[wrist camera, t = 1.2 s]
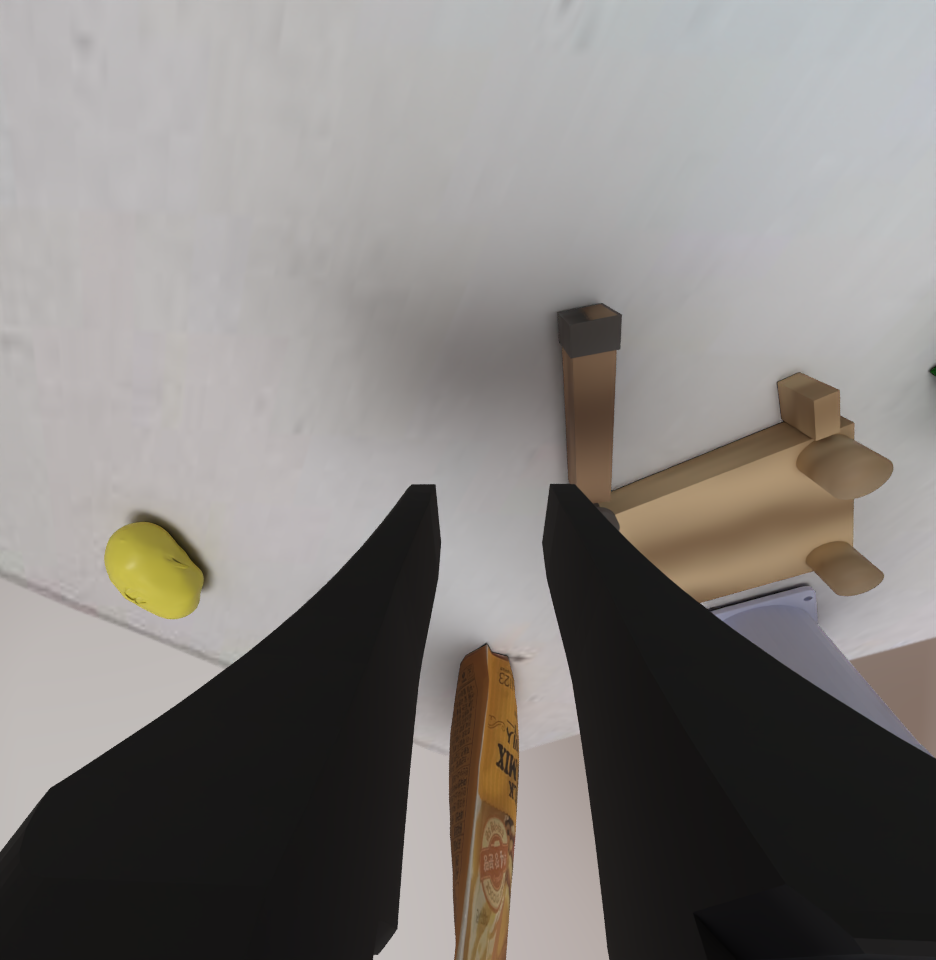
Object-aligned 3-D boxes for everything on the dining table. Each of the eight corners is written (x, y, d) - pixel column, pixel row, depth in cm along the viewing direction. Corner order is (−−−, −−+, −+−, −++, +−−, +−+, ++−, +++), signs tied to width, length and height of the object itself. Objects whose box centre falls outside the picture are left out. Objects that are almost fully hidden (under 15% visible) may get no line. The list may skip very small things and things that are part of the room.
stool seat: (827, 538, 22) (884, 588, 19) (624, 599, 26) (644, 649, 23) (820, 363, 16) (902, 395, 13) (556, 479, 20) (570, 525, 17)
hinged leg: (599, 474, 19) (613, 502, 17) (566, 479, 19) (575, 507, 17) (602, 302, 14) (621, 314, 12) (557, 312, 15) (569, 325, 13)
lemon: (182, 511, 22) (132, 558, 19) (227, 590, 27) (193, 638, 24) (116, 508, 22) (56, 554, 19) (172, 588, 27) (132, 635, 24)
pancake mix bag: (456, 727, 41) (424, 1368, 18) (433, 634, 30) (275, 2011, 7) (514, 727, 40) (560, 1386, 17) (514, 633, 29) (638, 2107, 6)
